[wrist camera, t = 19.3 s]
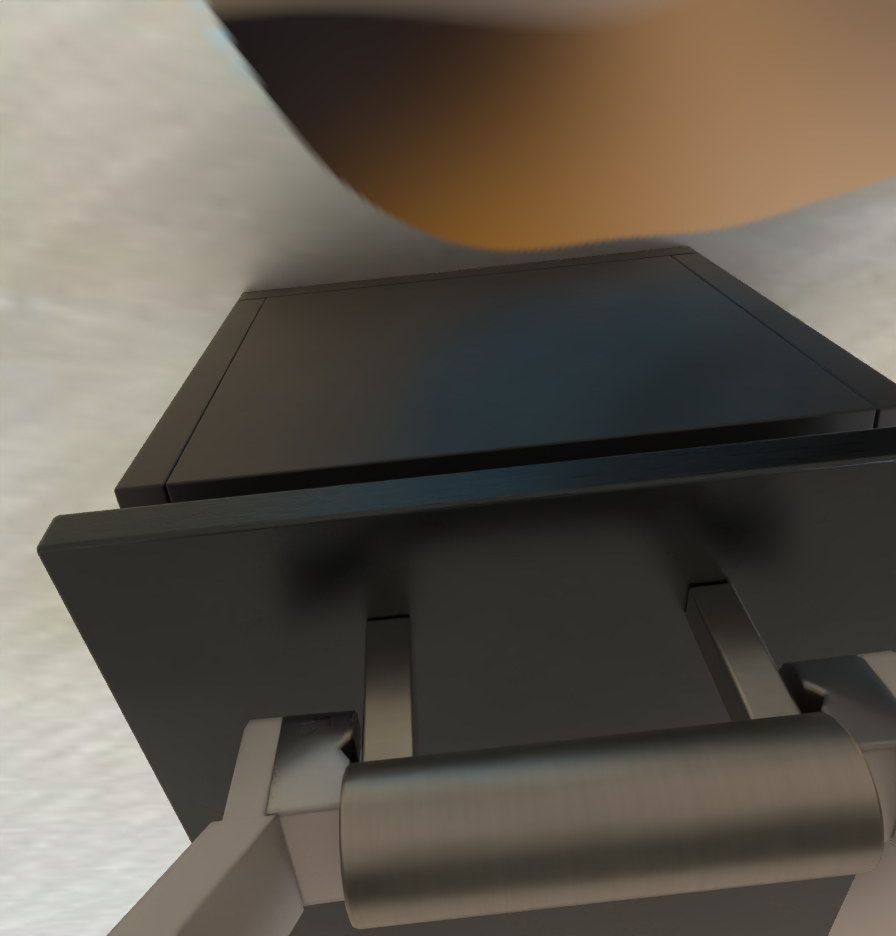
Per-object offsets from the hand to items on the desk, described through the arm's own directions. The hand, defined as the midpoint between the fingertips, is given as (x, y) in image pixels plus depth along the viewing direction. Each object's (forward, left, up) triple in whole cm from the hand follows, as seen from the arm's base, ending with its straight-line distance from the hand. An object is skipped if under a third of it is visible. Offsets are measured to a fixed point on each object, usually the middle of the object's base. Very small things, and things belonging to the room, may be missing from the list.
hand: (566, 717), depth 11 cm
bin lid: (+4, +3, -3) cm, 6 cm away
